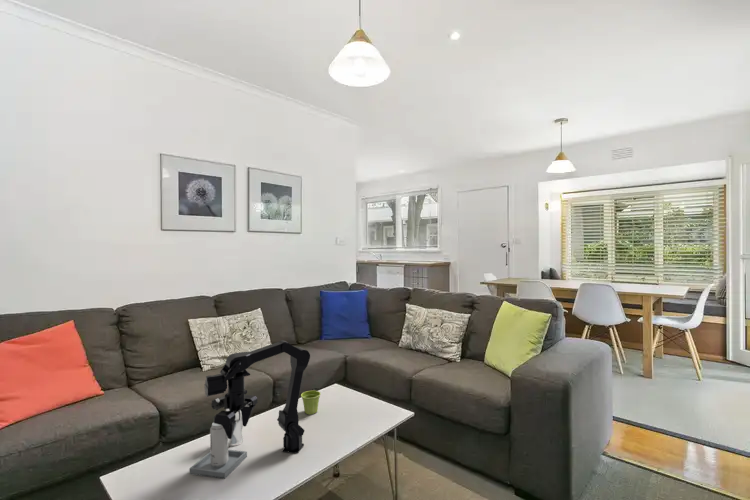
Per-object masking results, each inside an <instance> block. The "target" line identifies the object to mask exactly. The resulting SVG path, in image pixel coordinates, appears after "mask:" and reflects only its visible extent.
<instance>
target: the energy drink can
mask: <svg viewBox="0 0 750 500" xmlns="http://www.w3.org/2000/svg"><path fill="white" fill-rule="evenodd" d="M209 437H210V438H209V439H210V451H211V465H212V466H213V467H216V468H218V467H222V466H224V465H226V463H227V461H228V450H229V445H228V437H227V434H226V432H225V430H224V428H223V426H222V425H220V424H215V423H214V421H213V422H212V424H211V427H210V428H209Z"/></svg>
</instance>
